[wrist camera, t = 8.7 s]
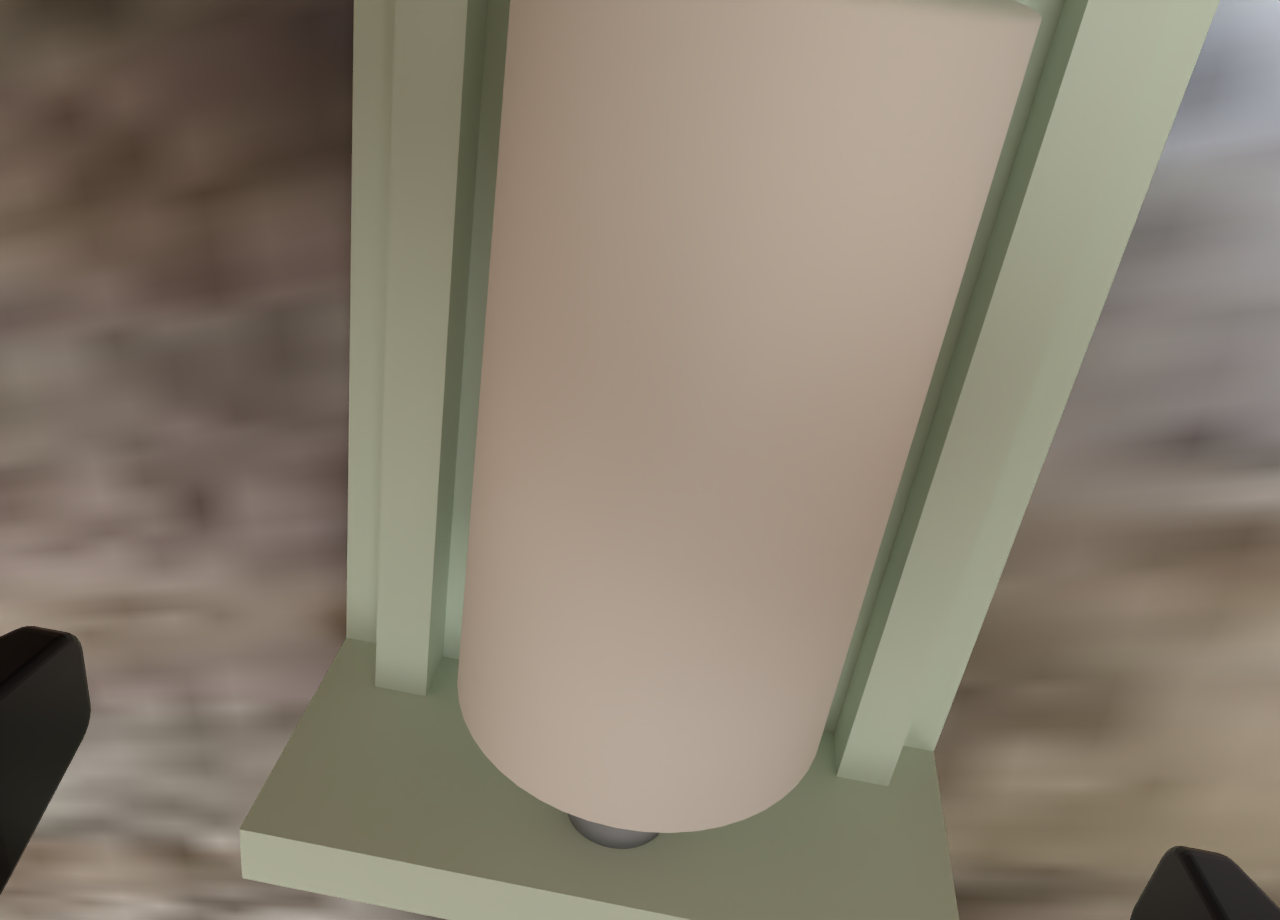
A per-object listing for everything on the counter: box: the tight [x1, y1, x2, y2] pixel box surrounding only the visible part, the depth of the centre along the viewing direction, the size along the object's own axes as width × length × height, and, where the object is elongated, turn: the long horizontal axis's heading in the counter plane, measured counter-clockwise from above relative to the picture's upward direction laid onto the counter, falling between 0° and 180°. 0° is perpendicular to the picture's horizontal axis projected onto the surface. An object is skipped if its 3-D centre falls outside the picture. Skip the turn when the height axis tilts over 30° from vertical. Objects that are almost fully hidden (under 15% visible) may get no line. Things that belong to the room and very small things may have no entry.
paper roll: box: [457, 0, 1042, 833], centre depth 15 cm, size 11×6×6 cm, turn 172°
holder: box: [240, 0, 1220, 920], centre depth 16 cm, size 19×12×6 cm, turn 172°
